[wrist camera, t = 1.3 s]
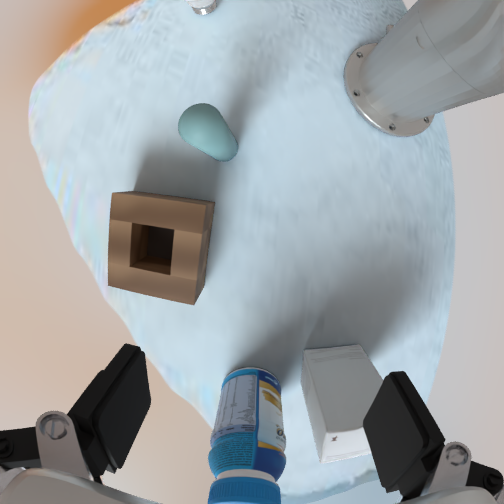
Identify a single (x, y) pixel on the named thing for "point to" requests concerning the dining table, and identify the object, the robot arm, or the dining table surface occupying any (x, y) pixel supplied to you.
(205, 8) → the light bulb
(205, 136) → the peg
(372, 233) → the dining table surface
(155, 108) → the dining table surface
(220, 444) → the beverage bottle
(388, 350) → the dining table surface
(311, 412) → the skincare box
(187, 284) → the socket block
